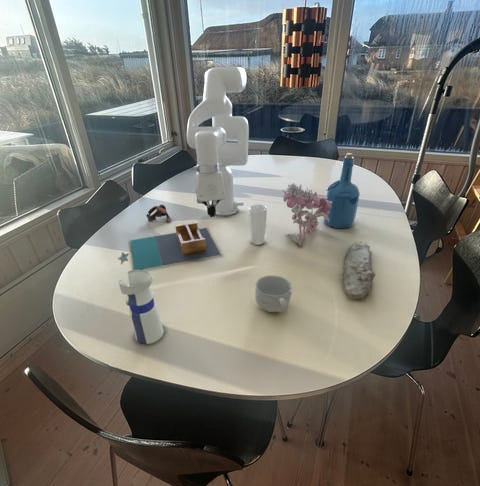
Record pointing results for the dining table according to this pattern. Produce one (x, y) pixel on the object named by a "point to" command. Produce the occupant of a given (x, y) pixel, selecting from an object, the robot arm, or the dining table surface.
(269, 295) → the teacup
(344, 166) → the wine bottle
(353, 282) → the long grey stone
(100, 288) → the dining table surface
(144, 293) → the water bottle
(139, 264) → the mat
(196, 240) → the rack
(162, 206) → the pottery mug
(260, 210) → the drinking glass
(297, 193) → the flower
